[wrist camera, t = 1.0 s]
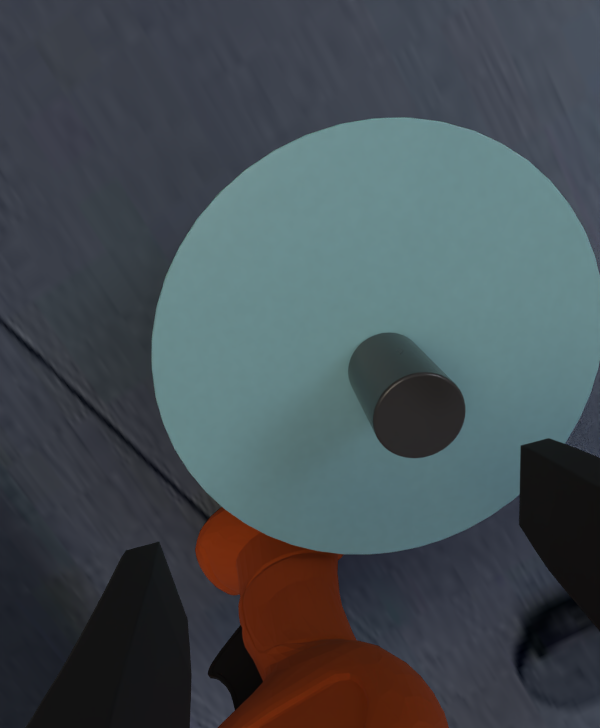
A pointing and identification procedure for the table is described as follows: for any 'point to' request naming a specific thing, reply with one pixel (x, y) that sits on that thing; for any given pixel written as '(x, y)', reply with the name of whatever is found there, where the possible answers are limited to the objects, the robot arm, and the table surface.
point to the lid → (376, 335)
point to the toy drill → (301, 641)
